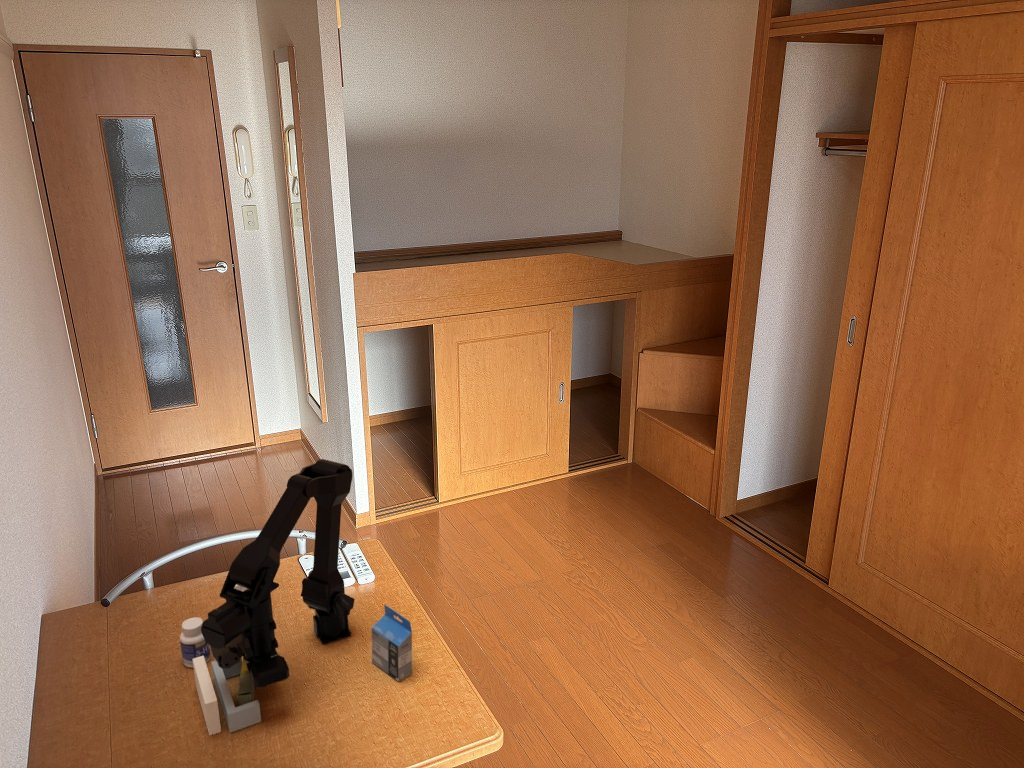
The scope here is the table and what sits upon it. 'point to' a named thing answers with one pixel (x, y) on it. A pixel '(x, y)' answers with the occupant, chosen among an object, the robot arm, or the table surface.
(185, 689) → the table surface
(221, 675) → the cradle
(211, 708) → the wall
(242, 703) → the medication box
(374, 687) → the table surface
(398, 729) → the table surface
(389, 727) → the table surface
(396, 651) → the label tape box
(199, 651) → the pill bottle
